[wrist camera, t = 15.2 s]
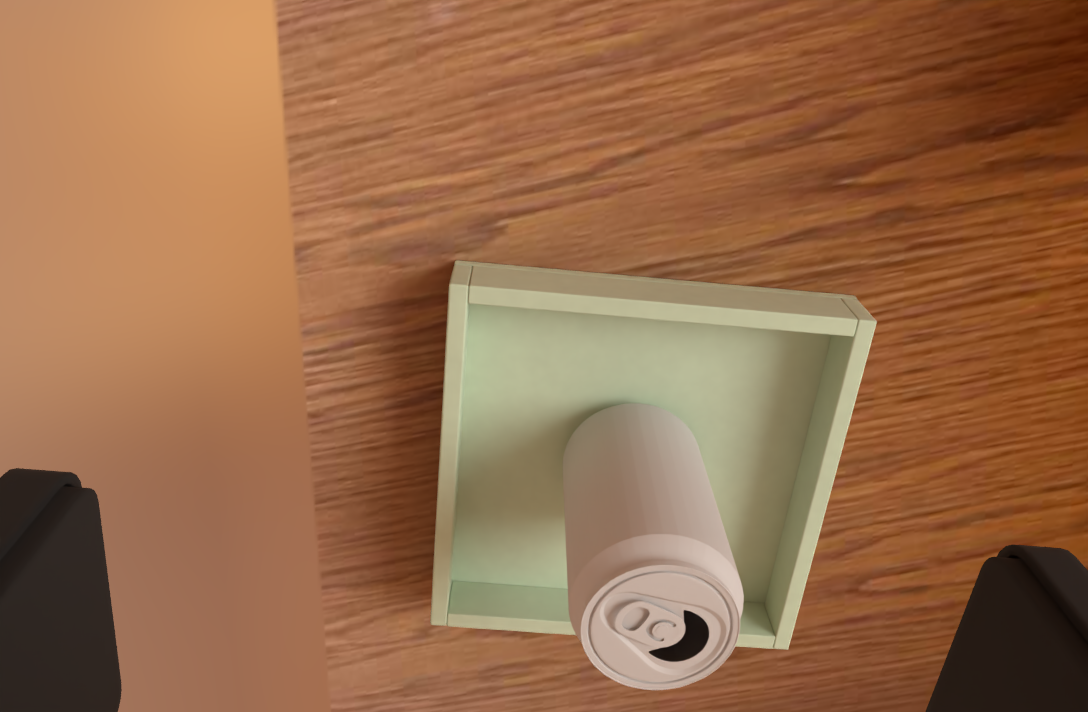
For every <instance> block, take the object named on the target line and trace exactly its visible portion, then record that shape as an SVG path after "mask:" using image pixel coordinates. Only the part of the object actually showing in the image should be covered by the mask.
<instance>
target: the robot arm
mask: <svg viewBox="0 0 1088 712" xmlns="http://www.w3.org/2000/svg"><path fill="white" fill-rule="evenodd" d="M120 699H121V679H120V670H119V662H118V654H117V646H116V638H115V630H114V622H113V614H112V606H111V598H110V590H109V582H108V574H107V566H106V558H105V550H104V542H103V534H102V526H101V518H100V510H99V502H98V498H97V494H96V493H95V491H94V490H92V489H90V488H82V486H81V482H80V480H79V478H78V477H77V475H75V474H73V473H71V472H57V471H45V470H31V469H19V468H16V469H11V470H9V471H8V472H6V473H5V474H4V475H3V476H2V477H1V478H0V712H118V708H119V704H120ZM926 712H1088V571H1087V569H1086V568H1085V567H1084V566H1083V565H1082V564H1081V563H1080V561H1079V560H1078V559H1077V558H1076V557H1075V556H1074V555H1073V554H1072V553H1070V552H1069V551H1068V550H1064V549H1061V548H1050V547H1037V546H1024V545H1009V546H1006V547H1004V548H1003V549H1002V550H1001V551H1000V552H999V554H998V556H997V557H991V558H989V559H988V560H986V561H985V562H984V564H983V566H982V568H981V570H980V573H979V575H978V578H977V581H976V583H975V586H974V588H973V591H972V594H971V596H970V599H969V601H968V604H967V606H966V609H965V612H964V614H963V617H962V619H961V622H960V624H959V627H958V630H957V632H956V635H955V637H954V640H953V642H952V645H951V648H950V650H949V653H948V655H947V658H946V660H945V663H944V666H943V668H942V671H941V673H940V676H939V678H938V681H937V684H936V686H935V689H934V691H933V694H932V696H931V699H930V702H929V704H928V707H927V709H926Z"/></svg>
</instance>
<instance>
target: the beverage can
mask: <svg viewBox="0 0 1088 712" xmlns="http://www.w3.org/2000/svg"><path fill="white" fill-rule="evenodd" d="M563 489H564V512H565V535H566V559H567V582H568V605H569V616H570V621H571V624H572V627H573V629H574V632H575V634H576V635H577V637H578V639H579V640H580V641H581V643H582V645H583V648H584V651H585V653H586V655H587V656H588V658H589V660H590V661H591V662H592V664H593V665H594V666H595V667H596V668H597V669H598V670H599V671H600V672H602V673H603V674H604V675H606V676H607V677H609V678H610V679H612V680H614V681H616V682H618V683H621V684H623V685H626V686H629V687H634V688H638V689H645V690H667V689H673V688H679V687H683V686H686V685H688V684H691V683H694V682H696V681H698V680H701V679H703V678H705V677H706V676H708V675H709V674H711V673H712V672H714V671H715V670H716V669H718V668H719V667H720V666H721V665H722V664H723V663H724V662H725V661H726V659H727V658H728V657H729V656H730V654H731V653H732V651H733V649H734V647H735V645H736V643H737V640H738V637H739V633H740V618H741V615H742V611H743V603H744V595H743V588H742V584H741V581H740V577H739V574H738V571H737V568H736V565H735V561H734V558H733V555H732V552H731V549H730V545H729V542H728V539H727V536H726V533H725V529H724V526H723V523H722V520H721V517H720V514H719V510H718V507H717V504H716V501H715V498H714V494H713V491H712V488H711V485H710V482H709V478H708V475H707V472H706V469H705V466H704V463H703V459H702V456H701V453H700V450H699V447H698V444H697V441H696V439H695V437H694V435H693V433H692V432H691V430H690V429H689V428H688V426H687V425H686V424H685V423H684V422H683V421H682V420H681V419H679V418H678V417H677V416H675V415H674V414H672V413H671V412H669V411H666V410H664V409H662V408H659V407H656V406H652V405H648V404H640V403H628V404H620V405H616V406H612V407H609V408H606V409H603V410H601V411H599V412H597V413H595V414H594V415H592V416H590V417H589V418H588V419H586V420H585V421H584V422H583V423H582V424H581V425H580V426H579V427H578V428H577V429H576V430H575V431H574V433H573V434H572V436H571V438H570V439H569V441H568V443H567V446H566V448H565V452H564V456H563Z"/></svg>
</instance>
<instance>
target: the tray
mask: <svg viewBox="0 0 1088 712" xmlns="http://www.w3.org/2000/svg"><path fill="white" fill-rule="evenodd" d="M876 323H877V322H876V320H875V319H874V318H873V317H872V316H871V314H870V313H869V312H868V311H867V310H866V309H865V308H864V306H863V305H862V304H861V303H860V302H859V301H858V300H857V298H856V297H855V296H854V295H843V294H832V293H820V292H809V291H798V290H786V289H775V288H764V287H753V286H741V285H730V284H719V283H707V282H696V281H685V280H674V279H662V278H651V277H640V276H628V275H617V274H606V273H594V272H583V271H572V270H561V269H549V268H538V267H527V266H515V265H504V264H493V263H481V262H470V261H459V260H456V261H455V263H454V267H453V271H452V275H451V279H450V283H449V293H448V311H447V329H446V347H445V366H444V384H443V402H442V420H441V438H440V456H439V474H438V492H437V510H436V529H435V547H434V565H433V583H432V601H431V619H430V623H431V625H440V626H446V624H447V626H451V627H466V628H480V629H494V630H509V631H523V632H538V633H552V634H566V635H576V634H575V632H574V629H573V627H572V624H571V621H570V616H569V605H568V582H567V559H566V535H565V512H564V489H563V456H564V452H565V448H566V446H567V443H568V441H569V439H570V438H571V436H572V434H573V433H574V431H575V430H576V429H577V428H578V427H579V426H580V425H581V424H582V423H583V422H584V421H585V420H586V419H588V418H589V417H590V416H592V415H594V414H595V413H597V412H599V411H601V410H603V409H606V408H609V407H612V406H616V405H620V404H628V403H640V404H648V405H652V406H656V407H659V408H662V409H664V410H666V411H669V412H671V413H672V414H674V415H675V416H677V417H678V418H679V419H681V420H682V421H683V422H684V423H685V424H686V425H687V426H688V428H689V429H690V430H691V432H692V433H693V435H694V437H695V439H696V441H697V444H698V447H699V450H700V453H701V456H702V459H703V463H704V466H705V469H706V472H707V475H708V478H709V482H710V485H711V488H712V491H713V494H714V498H715V501H716V504H717V507H718V510H719V514H720V517H721V520H722V523H723V526H724V529H725V533H726V536H727V539H728V542H729V545H730V549H731V552H732V555H733V558H734V561H735V565H736V568H737V571H738V574H739V577H740V581H741V584H742V588H743V595H744V603H743V611H742V615H741V618H740V633H739V637H738V640H737V643H736V645H735V646H739V647H753V648H768V649H772V647H773V648H774V649H785V650H787V649H788V648H789V644H790V640H791V637H792V633H793V629H794V626H795V622H796V618H797V615H798V611H799V607H800V603H801V600H802V596H803V592H804V589H805V585H806V581H807V578H808V574H809V570H810V567H811V563H812V559H813V555H814V552H815V548H816V544H817V541H818V537H819V533H820V530H821V526H822V522H823V519H824V515H825V511H826V508H827V504H828V500H829V496H830V493H831V489H832V485H833V482H834V478H835V474H836V471H837V467H838V463H839V460H840V456H841V452H842V448H843V445H844V441H845V437H846V434H847V430H848V426H849V423H850V419H851V415H852V412H853V408H854V404H855V400H856V397H857V393H858V389H859V386H860V382H861V378H862V375H863V371H864V367H865V364H866V360H867V356H868V353H869V349H870V345H871V341H872V338H873V334H874V330H875V327H876Z"/></svg>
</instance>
